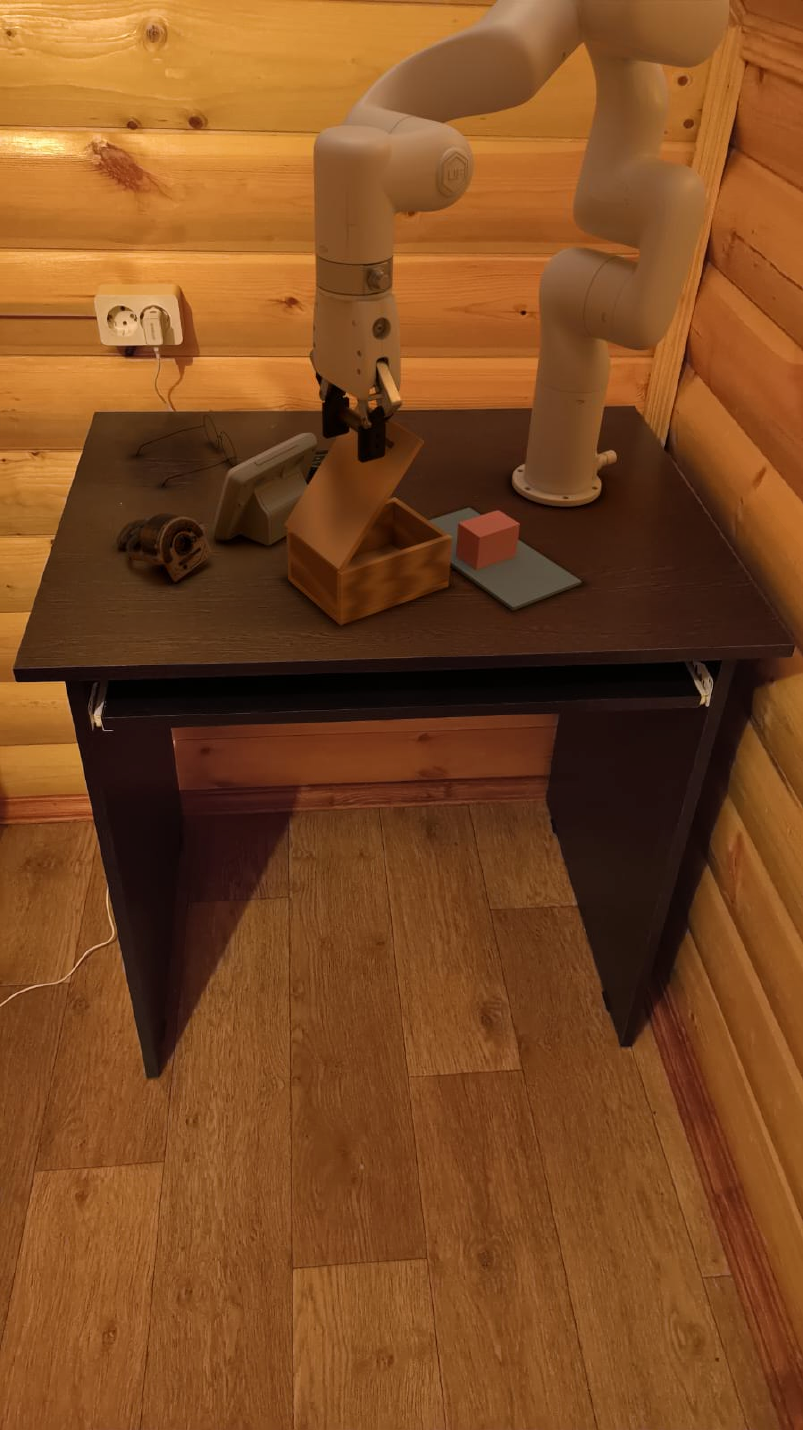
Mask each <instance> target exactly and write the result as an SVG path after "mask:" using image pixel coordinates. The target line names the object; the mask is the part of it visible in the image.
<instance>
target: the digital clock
mask: <svg viewBox="0 0 803 1430" xmlns="http://www.w3.org/2000/svg"><path fill="white" fill-rule="evenodd" d="M318 445H319V444H318V439H317V436H316V434H314V433H312V432H302V433H299V434H297V435H295V436H293V437H291V438H289V439H287V440H284V441H283V442H280V443H279V444H276V445H275V446H272V447H270V448H269V449H267V450H265V451H263V452H261V453H259V454H257V455H255V456H253V457H251V458H249V459H247V460H245V461H243V462H241V463H239V464H236V466H235V465H234V466H235V467H233V466H232V467H231V468H230V469H229V470H228V471H227V473H226V475H225V479H224V482H223V486H222V490H221V493H220V498H219V501H218V505H217V508H216V512H215V517H214V520H213V524H212V530H213V537H214V538H215V539H216V540H219V541H229V540H231V539H234V538H236V537H237V536H239V535H240V536H243V537H246V538H248V539H250V540H252V541H255V542H257V543H259V544H262V545H264V546H267V547H268V546H271V545H273V544H274V543H276V542H278V541H280V540H282V539H283V538H285V537H287V532H286V530H288V528H287V527H286V526H284V524H285V522H286V521H287V519H288V518H289V516H290V514H291V513H292V511H293V509H294V508H295V506H296V504H297V503H298V501H299V499H300V498H301V496H302V494H303V493H304V491H305V490H306V488H307V486H308V485H307V483H306V480H307V477H308V474H309V471H310V468H311V465H312V462H313V459H314V456H315V453H316V451H318Z"/></svg>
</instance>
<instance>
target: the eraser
mask: <svg viewBox="0 0 803 1430" xmlns="http://www.w3.org/2000/svg"><path fill="white" fill-rule="evenodd" d="M480 515H481V516H478V517H475V518H472V519H469V520H466V521H463V522H460V523H458V534H457V545H456V556H457V557H459V558H460V559H462V560H463V561H464V562H466V563H467V564H469V565H470V566H471V567H473V568H474V569H476V570H478V569H481V568H484V567H487V566H489V565H492V564H495V563H498V562H501V561H503V560H506V559H509V558H512V557H515V556H516V550H517V542H518V540H519V533H520V528H521V527H520V526H521V524H520V523H519V522H517V521H516V520H515V519H513V518H512V517H511V516H509V515H507V514H505V512H502V511H500V510H499V509H497V510H493V511H490V512H487V513H484V514H480Z"/></svg>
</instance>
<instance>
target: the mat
mask: <svg viewBox="0 0 803 1430" xmlns="http://www.w3.org/2000/svg"><path fill="white" fill-rule="evenodd" d="M481 515H482V514H480V513H479V512H477V511H476V510H475V509H472V508H471V507H467V508H463V509H459V510H457V511H453V512H450V513H448V514H443V515H441V516H437V517H434V518H432V519H427V520H428V521H430V522H431V523H433V524H434V525H436V526H437V527H438V528H440V529H441V530H443V531H444V532H446V533H447V534H448V535H450V536H451V537H453V539H452V551H451V563H450V567H452V568H453V569H454V570H456V571H458V573H460V574H461V575H463V576H464V577H466V578H467V579H468V580H470V581H471V582H472V583H474V584H475V585H476V586H478V587H479V588H481V589H482V590H483V591H484V592H487V593H488V594H489V595H490V596H491V597H493V598H494V599H496V600H497V601H499V602H500V603H501V604H503V605H504V606H506V607H507V608H509V610H511V611H512V612H513V611H516V610H519V609H521V608H524V607H526V606H529V605H531V604H534V603H537V602H539V601H542V600H544V599H547V598H550V597H552V596H554V595H557V594H560V593H562V592H565V591H567V590H571V589H572V588H575V587H577V586H580V585H582V580H581V579H579V578H578V577H576V576H575V575H574V574H571V573H570V572H569V571H567V570H566V569H564V568H563V567H561V566H560V565H558V564H556V563H555V562H554V561H552V560H551V559H549V558H548V557H546V556H544V555H543V554H541V553H540V552H538V551H536V550H535V549H533V548H532V547H531V546H529V545H527V544H526V543H524V542H523V541H521V540H520V539H518V542H517V550H516V556H515V557H512V558H509V559H506V560H503V561H501V562H498V563H495V564H492V565H489V566H487V567H484V568H481V569H478V570H476V569H474V568H473V567H471V566H470V565H469V564H467V563H466V562H464V561H463V560H462V559H460V558H459V557H457V556H456V545H457V534H458V523H460V522H463V521H466V520H469V519H472V518H475V517H478V516H481Z"/></svg>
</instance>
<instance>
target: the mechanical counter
mask: <svg viewBox="0 0 803 1430" xmlns="http://www.w3.org/2000/svg"><path fill="white" fill-rule="evenodd" d="M206 531H207V527H206V526H205V524H204V523H203V522H201V521H198V520H197V521H196V520H195V519H193V518H191V517H188V516H182V515H177V514H172V513H166V512H164V513H158V514H155V515H154V516H152V517H151V518H150V519H145V518H139V519H136V520H133V521H130V522H129V523H127V524H126V525H125V526H123V528H122V529H121V530H120V532H119V534H118V536H117V538H116V544H117V547H118V546H119V547H121V548H124V549H125V551H126V554H127V556H128V557H129V558H130V559H132V560H135V561H139V562H144V563H147V564H149V565H150V564H151V565H155V566H157V567H162V568H166V570H167V572H168V575H169V576H170V578H171V580H172V581H173V582H174V583H177V582H178V581H180V580H181V579H182V578H183V577H185V576H186V575H187V574H188V573H190V572H192V571H193V570H194V569H195V568H196V567H198V566H200V564H201V563H203V562H205V561H206V560H207V559H208V558H209V557H211V556H212V555H213V551H212V549H211V547H210V544H209V542H208V540H207V539H206ZM138 544H140V549H141V552H142V553H140V552H137V551H133V549H134V548H135V546H136V545H138Z"/></svg>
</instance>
